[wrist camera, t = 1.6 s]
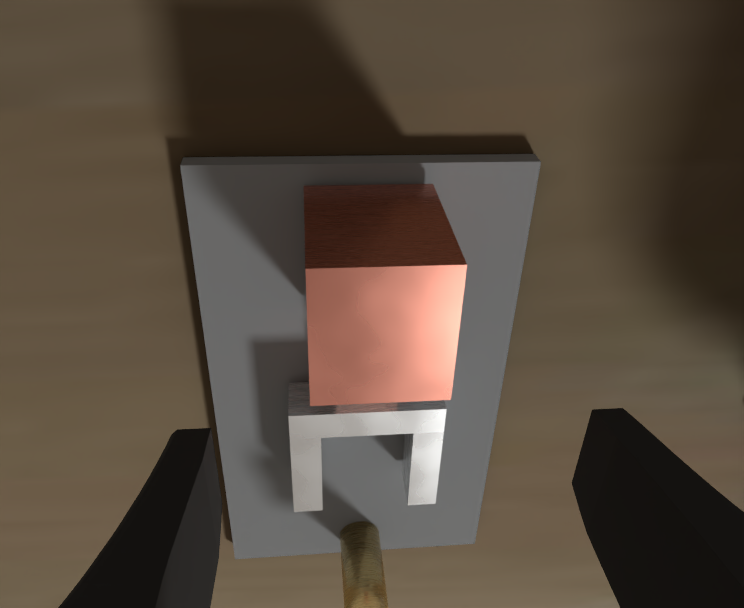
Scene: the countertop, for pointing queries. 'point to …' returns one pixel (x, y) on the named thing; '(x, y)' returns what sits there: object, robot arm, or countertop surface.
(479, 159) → the mat
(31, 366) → the countertop surface
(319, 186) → the pink cube with handle
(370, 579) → the keeper post
